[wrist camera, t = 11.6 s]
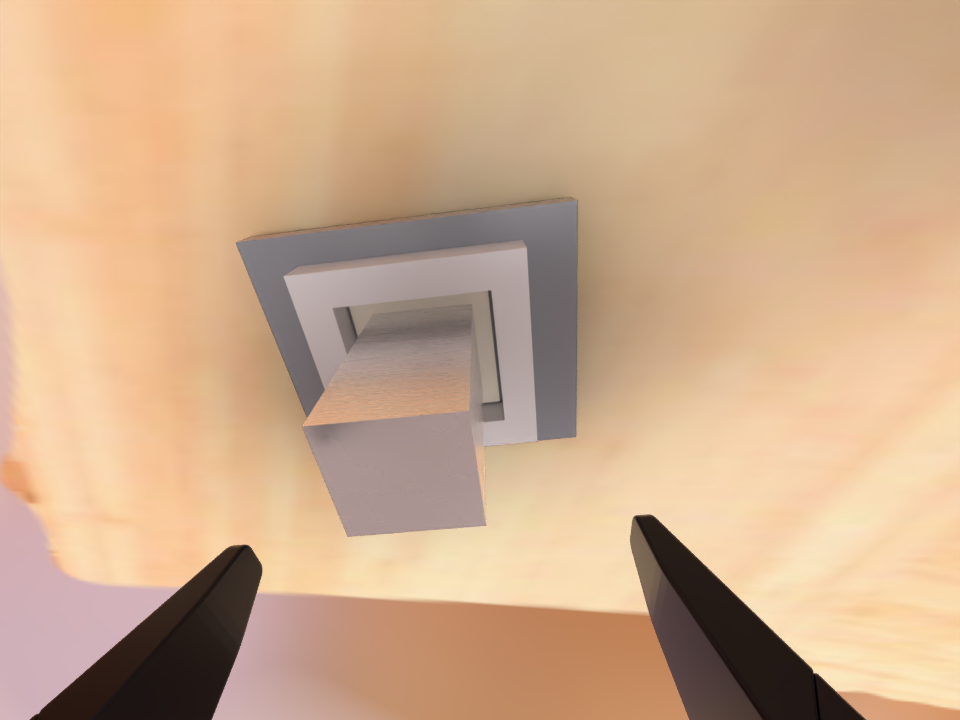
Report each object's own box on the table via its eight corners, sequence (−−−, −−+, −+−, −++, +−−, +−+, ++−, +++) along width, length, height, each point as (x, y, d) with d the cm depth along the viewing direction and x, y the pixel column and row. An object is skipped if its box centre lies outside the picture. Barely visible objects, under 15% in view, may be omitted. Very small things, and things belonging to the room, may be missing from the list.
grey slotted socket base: (571, 197, 16) (587, 205, 14) (571, 423, 22) (582, 456, 20) (250, 236, 17) (213, 251, 15) (331, 446, 23) (314, 480, 20)
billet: (472, 303, 17) (469, 410, 10) (482, 388, 19) (486, 525, 12) (372, 314, 17) (301, 426, 10) (393, 397, 19) (347, 536, 12)
